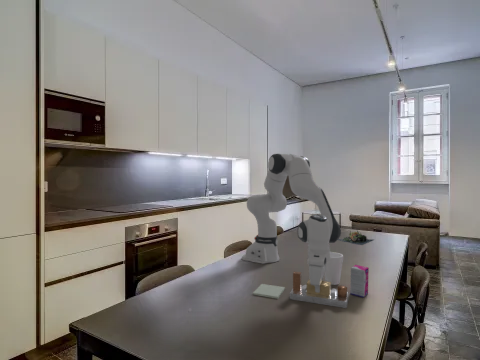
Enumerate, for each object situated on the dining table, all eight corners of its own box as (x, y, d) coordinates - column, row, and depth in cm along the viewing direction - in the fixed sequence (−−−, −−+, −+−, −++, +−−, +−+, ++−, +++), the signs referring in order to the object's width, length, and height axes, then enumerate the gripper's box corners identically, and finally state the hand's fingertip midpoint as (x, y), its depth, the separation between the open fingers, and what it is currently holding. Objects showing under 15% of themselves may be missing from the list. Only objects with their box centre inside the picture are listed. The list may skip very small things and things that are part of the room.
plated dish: (347, 234, 251) (347, 225, 251) (382, 239, 232) (382, 230, 232) (327, 242, 226) (327, 232, 226) (365, 248, 207) (365, 238, 206)
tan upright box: (306, 292, 122) (306, 283, 121) (309, 288, 126) (308, 279, 126) (329, 296, 118) (329, 286, 118) (331, 291, 123) (331, 282, 122)
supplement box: (364, 298, 122) (364, 270, 122) (349, 294, 126) (349, 267, 126) (368, 293, 126) (368, 266, 126) (354, 290, 130) (354, 264, 130)
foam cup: (336, 278, 146) (336, 251, 145) (347, 284, 137) (347, 256, 136) (318, 279, 144) (318, 252, 143) (328, 286, 135) (328, 258, 134)
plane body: (289, 299, 122) (289, 275, 122) (295, 290, 131) (295, 268, 131) (346, 308, 113) (346, 283, 113) (348, 298, 122) (348, 275, 122)
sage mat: (252, 294, 127) (252, 292, 127) (261, 285, 137) (261, 283, 137) (278, 298, 122) (278, 296, 122) (284, 289, 132) (284, 287, 132)
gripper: (315, 248, 132) (315, 279, 133) (306, 261, 114) (306, 297, 114) (329, 249, 130) (330, 281, 130) (323, 263, 111) (323, 299, 112)
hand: (318, 288), depth 122 cm, fingers closed on tan upright box, 5 cm apart
